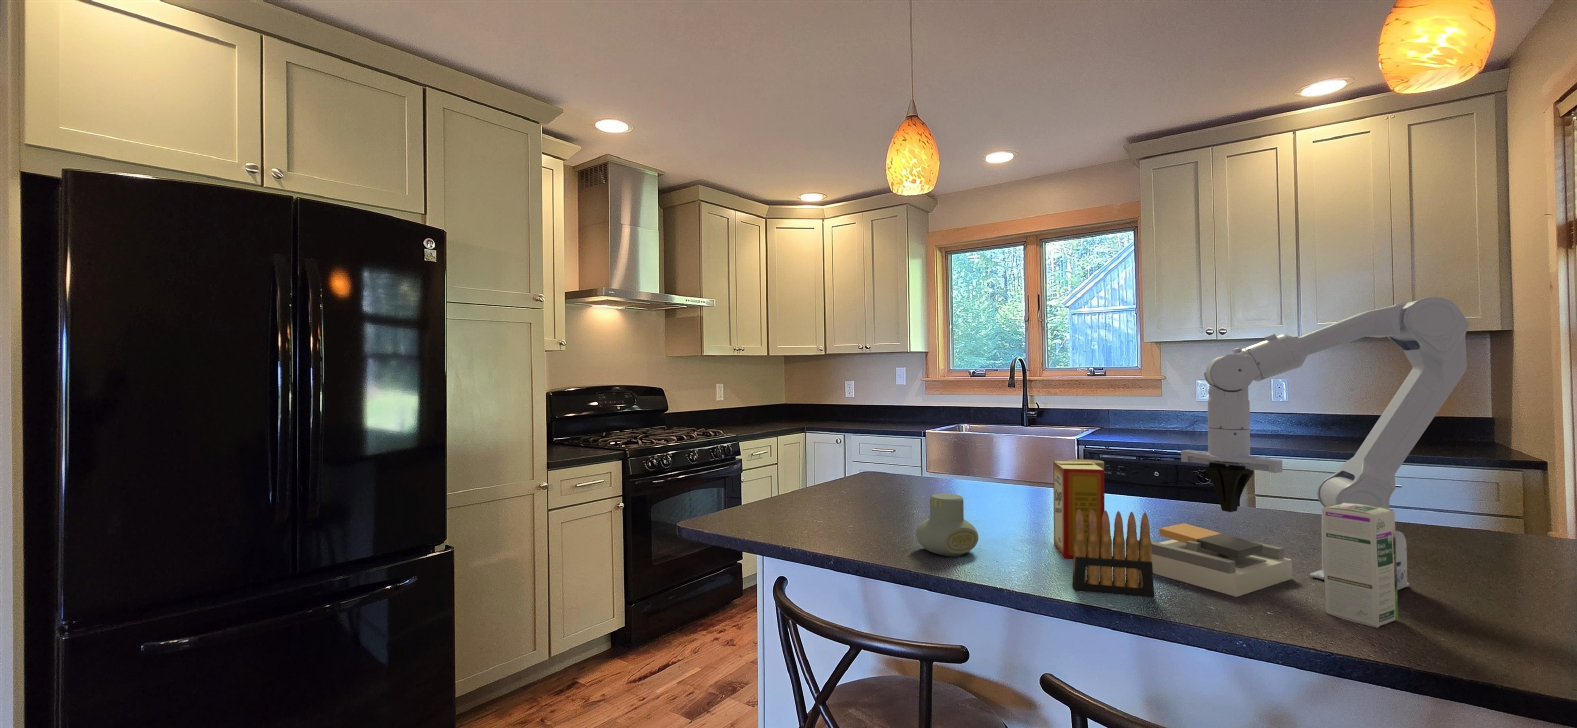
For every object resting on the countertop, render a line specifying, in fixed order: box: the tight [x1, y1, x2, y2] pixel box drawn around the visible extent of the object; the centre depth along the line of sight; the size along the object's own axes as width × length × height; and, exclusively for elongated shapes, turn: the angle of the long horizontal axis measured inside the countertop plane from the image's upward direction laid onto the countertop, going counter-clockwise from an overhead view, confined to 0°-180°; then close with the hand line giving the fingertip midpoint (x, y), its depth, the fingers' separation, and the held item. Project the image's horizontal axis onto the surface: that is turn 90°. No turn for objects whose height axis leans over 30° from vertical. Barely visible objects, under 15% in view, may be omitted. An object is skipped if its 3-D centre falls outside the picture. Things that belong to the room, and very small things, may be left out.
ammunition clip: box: [1071, 509, 1155, 599], centre depth 95 cm, size 11×2×12 cm, turn 74°
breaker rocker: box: [1158, 522, 1263, 559], centre depth 104 cm, size 12×7×1 cm, turn 29°
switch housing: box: [1137, 539, 1293, 598], centre depth 104 cm, size 16×16×6 cm
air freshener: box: [915, 493, 979, 558], centre depth 117 cm, size 11×8×10 cm
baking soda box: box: [1052, 460, 1106, 561], centre depth 116 cm, size 10×6×16 cm
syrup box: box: [1321, 503, 1399, 629], centre depth 85 cm, size 6×6×14 cm
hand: (1229, 510), depth 106 cm, fingers closed
